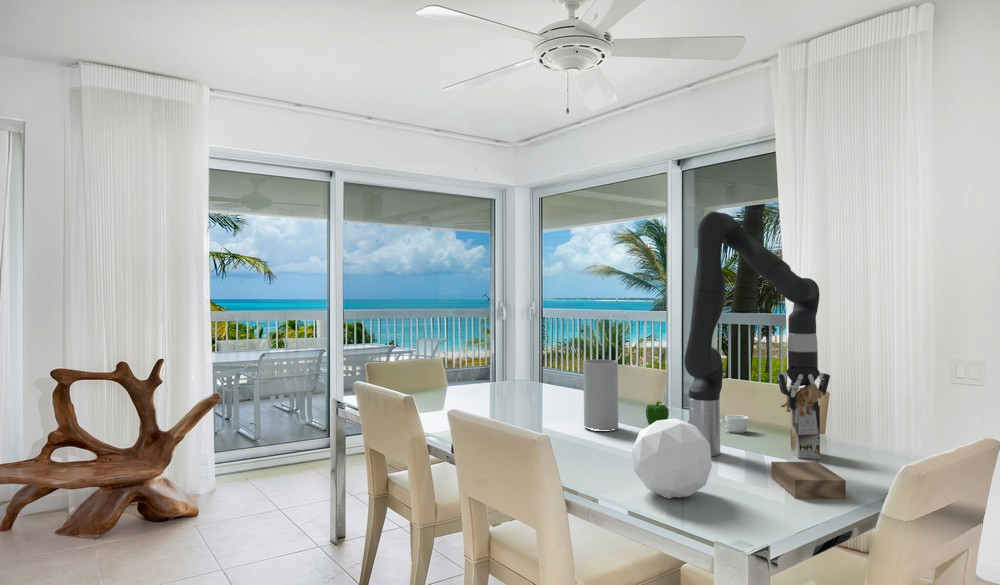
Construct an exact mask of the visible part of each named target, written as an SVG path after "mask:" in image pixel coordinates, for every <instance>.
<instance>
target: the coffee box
mask: <svg viewBox="0 0 1000 585" xmlns="http://www.w3.org/2000/svg"><path fill="white" fill-rule="evenodd" d="M820 408H821V406H820V405H819V404H818V409H816V411H812V410H811V406H810V410H809V413H811V414H812V415H811V416H809V415H806V406H803V412H804V415H805V416H800V411H799V404H797V403H796V411H792V410H791V409H790V408H789V409H790V410H791V412H789V413H790V451H791V452H792V453H793V454H794V456H796V457H797V458H798V459H809V460H810V459H812V460H813V459H814V460H820V459H821V436H820V435H821V419H820V418H821V414H820V412H821V411H820V410H821V409H820Z"/></svg>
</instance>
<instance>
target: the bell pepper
mask: <svg viewBox="0 0 1000 585" xmlns="http://www.w3.org/2000/svg"><path fill="white" fill-rule="evenodd" d="M669 416H670V413H669V408H668V407H667V405H666V404H662V401H661V400H657V401H656V402H655V404H647V405H646V408H645V417H646V420H647V424H648V426H649V425H651V424H652V423H654V422H656V421H658V420H666V419H669Z"/></svg>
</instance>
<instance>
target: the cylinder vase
mask: <svg viewBox="0 0 1000 585" xmlns="http://www.w3.org/2000/svg"><path fill="white" fill-rule="evenodd" d="M582 362H583V366H582V367H583V427H584V426H586V427H588V428H593V429H599V430H612V429H617V428H618V429H619V379H618V377H619V376H618V372H619V371H618V370H619V368H618V360H613V359H586V360H583V361H582ZM618 429H617V430H618Z"/></svg>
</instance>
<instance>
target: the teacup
mask: <svg viewBox="0 0 1000 585" xmlns="http://www.w3.org/2000/svg"><path fill="white" fill-rule="evenodd" d="M722 422H724V423H725V425H722ZM720 427H722V428H725V429H727V430H728V431H729V432H730V433H732V434H733V433H734V434H743V433H746V431H747V430H748V427H749V416H747V415H746V416H745V415H740V414H728V415H725V417H724V419H720Z"/></svg>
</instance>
